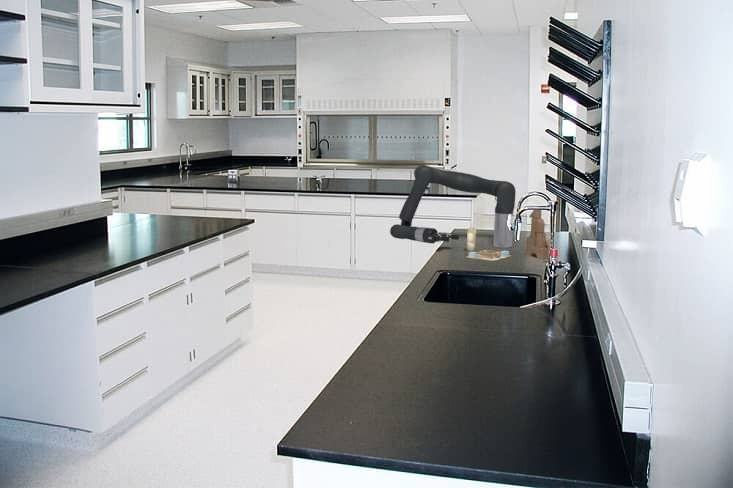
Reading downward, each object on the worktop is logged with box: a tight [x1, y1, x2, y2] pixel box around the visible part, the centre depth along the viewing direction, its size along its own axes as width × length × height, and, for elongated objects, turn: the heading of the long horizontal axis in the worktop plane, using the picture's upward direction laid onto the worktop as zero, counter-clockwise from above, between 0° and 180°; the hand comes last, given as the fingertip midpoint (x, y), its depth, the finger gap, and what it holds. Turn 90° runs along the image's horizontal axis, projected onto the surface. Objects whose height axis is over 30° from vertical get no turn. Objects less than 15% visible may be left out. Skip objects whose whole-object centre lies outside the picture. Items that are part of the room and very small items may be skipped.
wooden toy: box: [525, 209, 551, 263], centre depth 327 cm, size 15×7×25 cm, turn 20°
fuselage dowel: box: [466, 227, 477, 255], centre depth 335 cm, size 4×4×13 cm
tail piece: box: [468, 251, 478, 259], centre depth 325 cm, size 4×2×2 cm, turn 140°
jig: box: [466, 249, 511, 262], centre depth 327 cm, size 18×14×4 cm
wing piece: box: [500, 250, 510, 258], centre depth 329 cm, size 6×2×2 cm, turn 140°
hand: (453, 238), depth 341 cm, fingers open, 8 cm apart
